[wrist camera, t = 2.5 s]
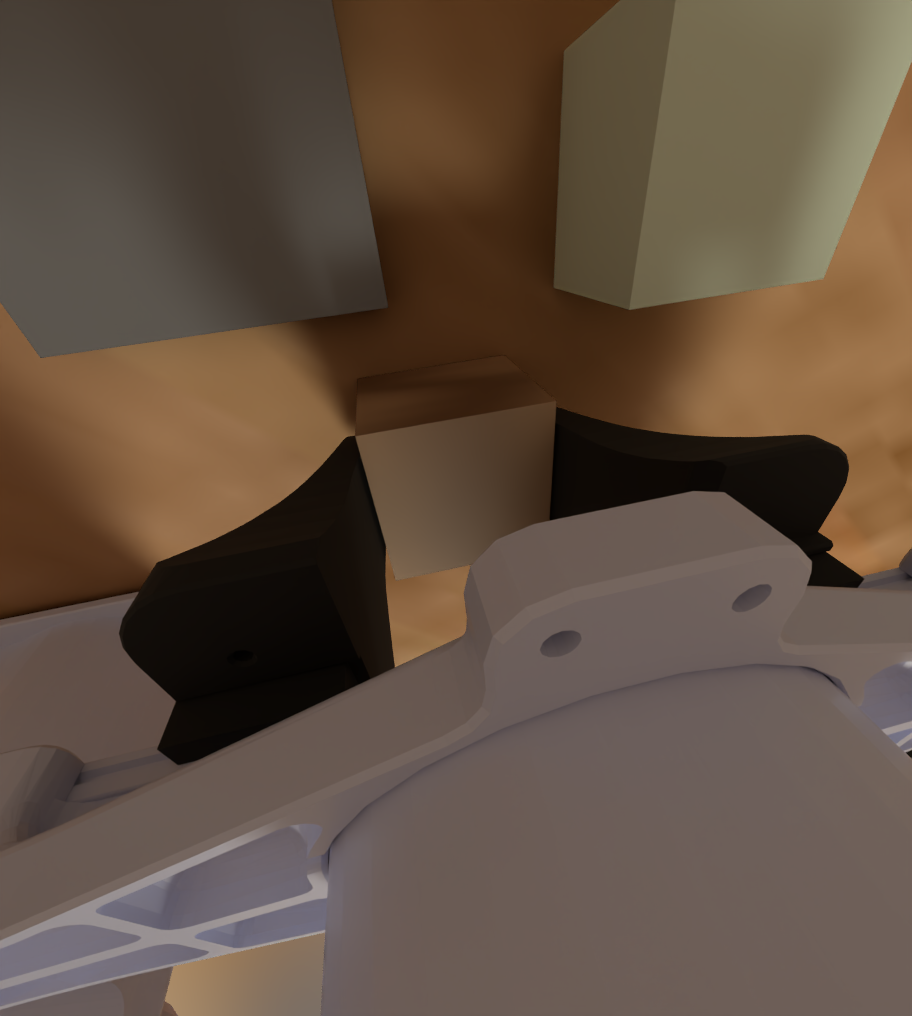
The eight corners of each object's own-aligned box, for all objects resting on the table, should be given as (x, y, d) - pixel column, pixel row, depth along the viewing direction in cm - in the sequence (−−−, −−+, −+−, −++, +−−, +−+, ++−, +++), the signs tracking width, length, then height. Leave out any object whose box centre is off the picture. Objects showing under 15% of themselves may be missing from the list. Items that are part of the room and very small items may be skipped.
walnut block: (388, 501, 14) (395, 580, 11) (357, 378, 11) (355, 436, 8) (507, 478, 14) (547, 548, 11) (504, 355, 12) (556, 401, 9)
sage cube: (552, 287, 11) (629, 309, 8) (561, 52, 8) (683, -58, 5) (695, 265, 12) (823, 278, 8) (748, 36, 9) (967, -75, 6)
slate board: (67, 347, 10) (40, 357, 9) (-383, -321, 5) (-532, -432, 4) (386, 301, 10) (388, 307, 10) (272, -316, 6) (256, -407, 5)
